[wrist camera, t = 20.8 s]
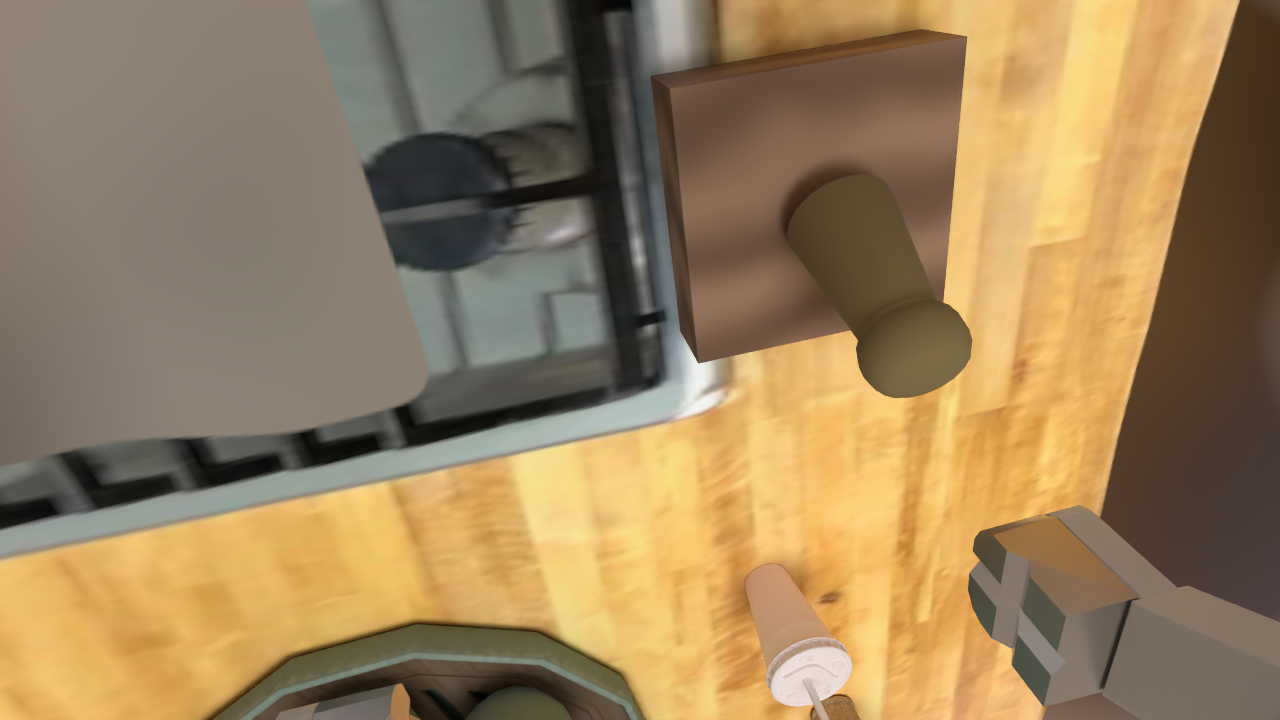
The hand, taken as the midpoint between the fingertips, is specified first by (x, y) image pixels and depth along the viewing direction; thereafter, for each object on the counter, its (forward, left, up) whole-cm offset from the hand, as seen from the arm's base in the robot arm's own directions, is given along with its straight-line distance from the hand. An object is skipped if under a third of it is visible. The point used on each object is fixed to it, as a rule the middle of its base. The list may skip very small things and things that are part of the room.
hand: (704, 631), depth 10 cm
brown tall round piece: (+6, +15, -29) cm, 34 cm away
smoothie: (+39, +12, -35) cm, 54 cm away
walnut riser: (+6, +15, -35) cm, 39 cm away
